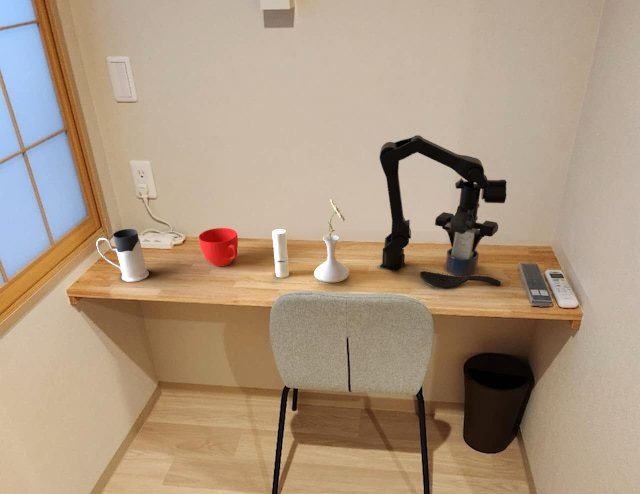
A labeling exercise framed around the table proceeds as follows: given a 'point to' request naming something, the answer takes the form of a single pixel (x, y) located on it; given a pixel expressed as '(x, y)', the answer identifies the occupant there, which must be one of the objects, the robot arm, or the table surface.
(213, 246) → the ceramic cup
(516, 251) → the table surface
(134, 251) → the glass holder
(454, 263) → the crock
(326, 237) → the flower in vase
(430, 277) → the hairbrush
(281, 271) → the tube
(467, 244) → the cosmetic box
